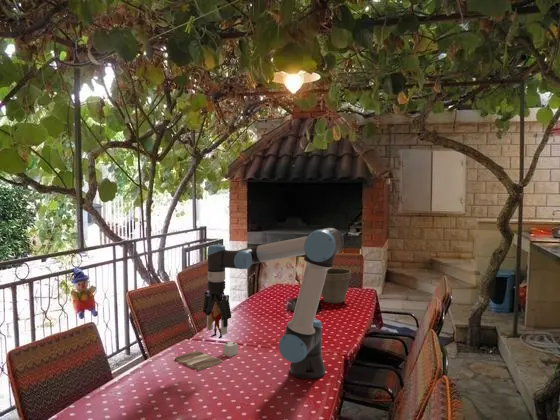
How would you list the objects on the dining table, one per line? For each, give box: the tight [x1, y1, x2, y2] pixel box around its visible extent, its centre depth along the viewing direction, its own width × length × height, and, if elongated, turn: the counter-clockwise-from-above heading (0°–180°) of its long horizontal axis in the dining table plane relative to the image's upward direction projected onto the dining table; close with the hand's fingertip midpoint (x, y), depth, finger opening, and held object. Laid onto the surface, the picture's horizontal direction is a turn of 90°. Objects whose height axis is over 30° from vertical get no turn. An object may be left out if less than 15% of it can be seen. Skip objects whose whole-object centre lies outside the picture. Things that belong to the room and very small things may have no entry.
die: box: [222, 341, 239, 358], centre depth 212 cm, size 5×5×6 cm
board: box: [174, 350, 223, 372], centre depth 203 cm, size 18×13×1 cm
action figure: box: [208, 302, 223, 339], centre depth 193 cm, size 10×4×15 cm, turn 61°
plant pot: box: [321, 267, 352, 304], centre depth 316 cm, size 25×25×22 cm
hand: (216, 331), depth 194 cm, fingers closed on action figure, 9 cm apart
